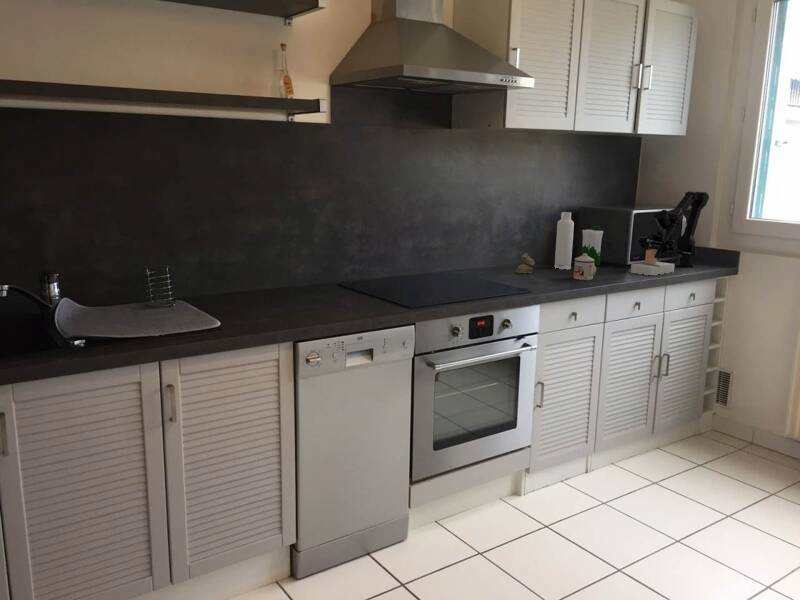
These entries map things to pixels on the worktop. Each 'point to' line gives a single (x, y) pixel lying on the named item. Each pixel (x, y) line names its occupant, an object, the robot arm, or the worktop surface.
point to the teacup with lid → (584, 268)
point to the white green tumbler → (592, 243)
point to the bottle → (564, 241)
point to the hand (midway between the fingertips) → (649, 256)
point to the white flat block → (652, 268)
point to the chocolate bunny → (526, 265)
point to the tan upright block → (650, 256)
